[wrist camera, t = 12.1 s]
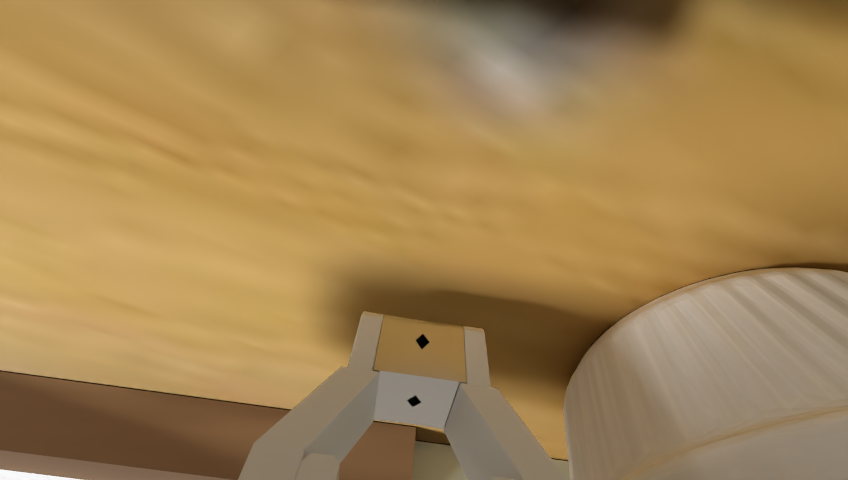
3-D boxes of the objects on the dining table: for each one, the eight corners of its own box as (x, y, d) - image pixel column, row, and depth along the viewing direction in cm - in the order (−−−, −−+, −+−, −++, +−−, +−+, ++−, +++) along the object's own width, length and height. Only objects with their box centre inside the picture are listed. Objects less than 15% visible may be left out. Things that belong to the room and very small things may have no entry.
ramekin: (902, 431, 13) (1139, 659, 8) (576, 477, 16) (624, 661, 12) (1019, 147, 7) (1869, 379, 3) (487, 303, 10) (516, 526, 6)
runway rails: (411, 446, 15) (405, 519, 13) (-71, 382, 14) (-160, 449, 12) (556, -127, 5) (624, -200, 3) (-887, -405, 5) (-1937, -719, 3)
